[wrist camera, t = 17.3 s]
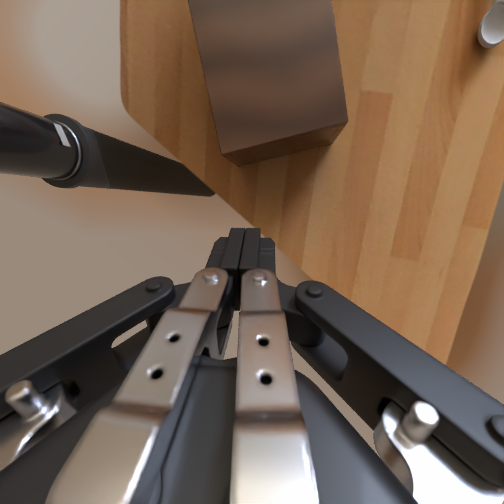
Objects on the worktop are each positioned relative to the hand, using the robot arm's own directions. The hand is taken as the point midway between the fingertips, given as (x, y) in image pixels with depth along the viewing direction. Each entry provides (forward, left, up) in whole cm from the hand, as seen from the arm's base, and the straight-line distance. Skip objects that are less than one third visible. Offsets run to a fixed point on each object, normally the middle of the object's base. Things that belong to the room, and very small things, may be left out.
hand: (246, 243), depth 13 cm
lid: (+3, +17, -17) cm, 24 cm away
